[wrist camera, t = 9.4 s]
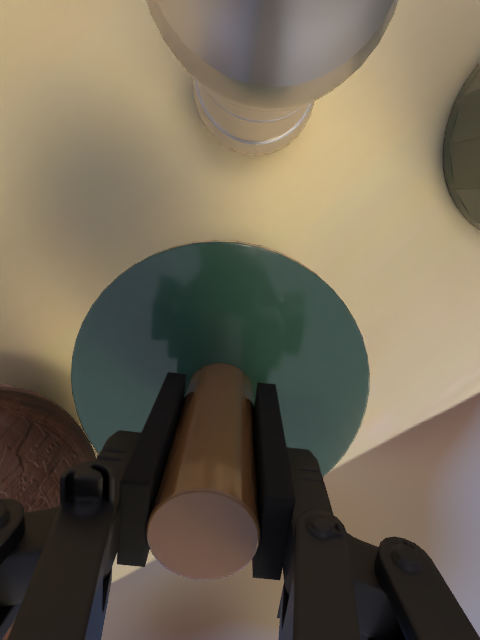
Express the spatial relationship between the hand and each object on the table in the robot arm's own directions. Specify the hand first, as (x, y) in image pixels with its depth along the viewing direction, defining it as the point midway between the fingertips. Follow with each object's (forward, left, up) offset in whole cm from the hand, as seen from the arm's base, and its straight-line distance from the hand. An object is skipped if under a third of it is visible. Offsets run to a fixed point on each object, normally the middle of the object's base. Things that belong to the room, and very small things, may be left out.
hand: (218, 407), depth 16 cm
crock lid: (0, 0, -2) cm, 2 cm away
